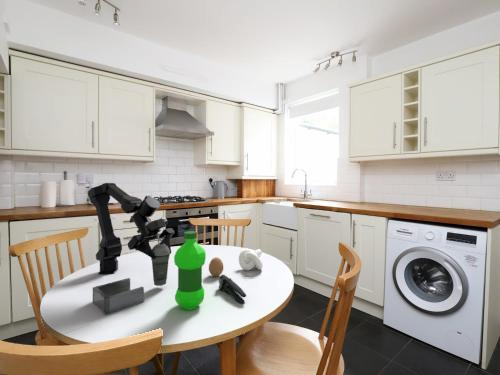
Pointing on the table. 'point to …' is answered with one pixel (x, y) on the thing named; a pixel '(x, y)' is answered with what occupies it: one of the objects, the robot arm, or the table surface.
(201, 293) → the plastic bottle
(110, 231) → the robot arm
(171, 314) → the table surface
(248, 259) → the white rounded lump
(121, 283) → the box
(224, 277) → the can opener
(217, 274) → the egg
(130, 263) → the table surface
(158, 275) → the beverage cup
